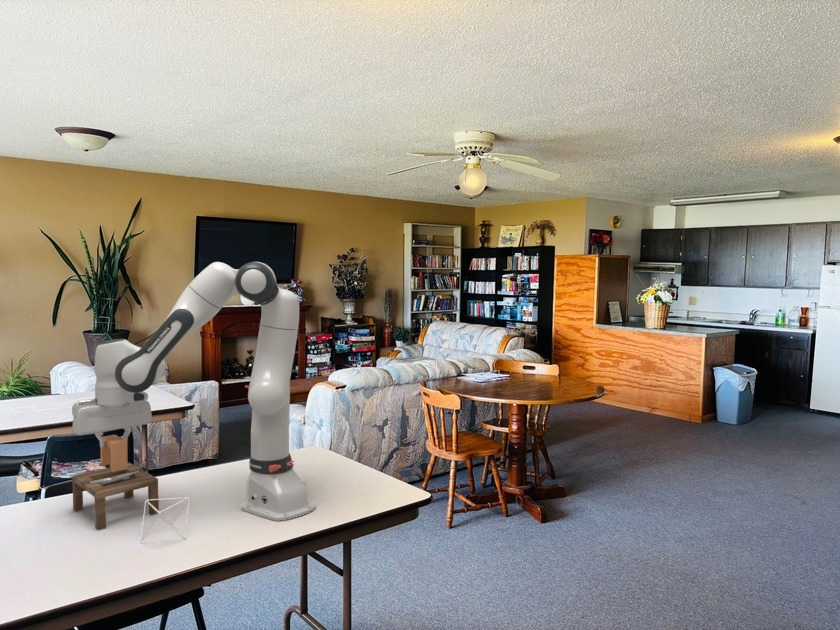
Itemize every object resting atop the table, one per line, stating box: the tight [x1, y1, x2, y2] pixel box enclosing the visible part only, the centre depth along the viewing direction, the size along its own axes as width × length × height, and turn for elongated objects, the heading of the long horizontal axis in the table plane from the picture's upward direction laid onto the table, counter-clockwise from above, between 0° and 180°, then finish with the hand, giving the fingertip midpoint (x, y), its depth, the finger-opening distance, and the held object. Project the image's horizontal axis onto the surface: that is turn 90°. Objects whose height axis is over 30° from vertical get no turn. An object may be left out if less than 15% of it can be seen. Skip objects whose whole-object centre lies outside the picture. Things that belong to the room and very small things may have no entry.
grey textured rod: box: [90, 471, 139, 486], centre depth 170 cm, size 2×13×2 cm, turn 136°
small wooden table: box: [71, 462, 160, 531], centre depth 170 cm, size 20×16×10 cm
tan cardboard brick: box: [100, 434, 129, 472], centre depth 170 cm, size 9×4×8 cm, turn 47°
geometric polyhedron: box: [139, 496, 190, 544], centre depth 155 cm, size 12×11×9 cm
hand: (113, 444), depth 170 cm, fingers closed on tan cardboard brick, 4 cm apart
